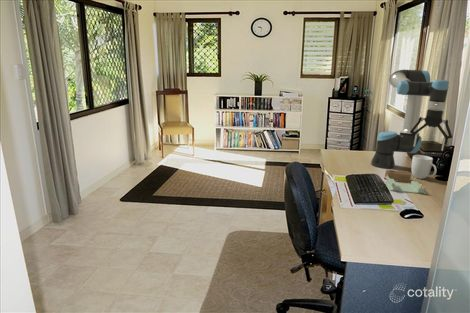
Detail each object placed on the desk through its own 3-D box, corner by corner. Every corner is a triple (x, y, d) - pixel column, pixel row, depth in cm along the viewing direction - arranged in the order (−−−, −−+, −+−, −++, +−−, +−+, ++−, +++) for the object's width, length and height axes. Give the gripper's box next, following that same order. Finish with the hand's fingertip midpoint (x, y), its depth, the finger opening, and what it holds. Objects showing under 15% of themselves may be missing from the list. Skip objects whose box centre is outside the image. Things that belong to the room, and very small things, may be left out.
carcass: (384, 183, 208) (385, 174, 206) (418, 186, 205) (420, 178, 203) (389, 190, 195) (391, 182, 194) (426, 194, 192) (428, 185, 191)
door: (384, 177, 219) (386, 168, 217) (406, 179, 217) (408, 170, 215) (387, 180, 213) (388, 171, 212) (409, 182, 211) (411, 173, 210)
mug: (438, 180, 217) (443, 159, 213) (429, 183, 211) (433, 162, 207) (415, 173, 228) (419, 154, 225) (405, 176, 223) (409, 156, 219)
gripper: (409, 107, 191) (402, 145, 197) (463, 113, 179) (454, 153, 184) (410, 106, 197) (404, 143, 203) (462, 111, 185) (454, 150, 191)
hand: (427, 148), depth 194 cm, fingers open, 13 cm apart
